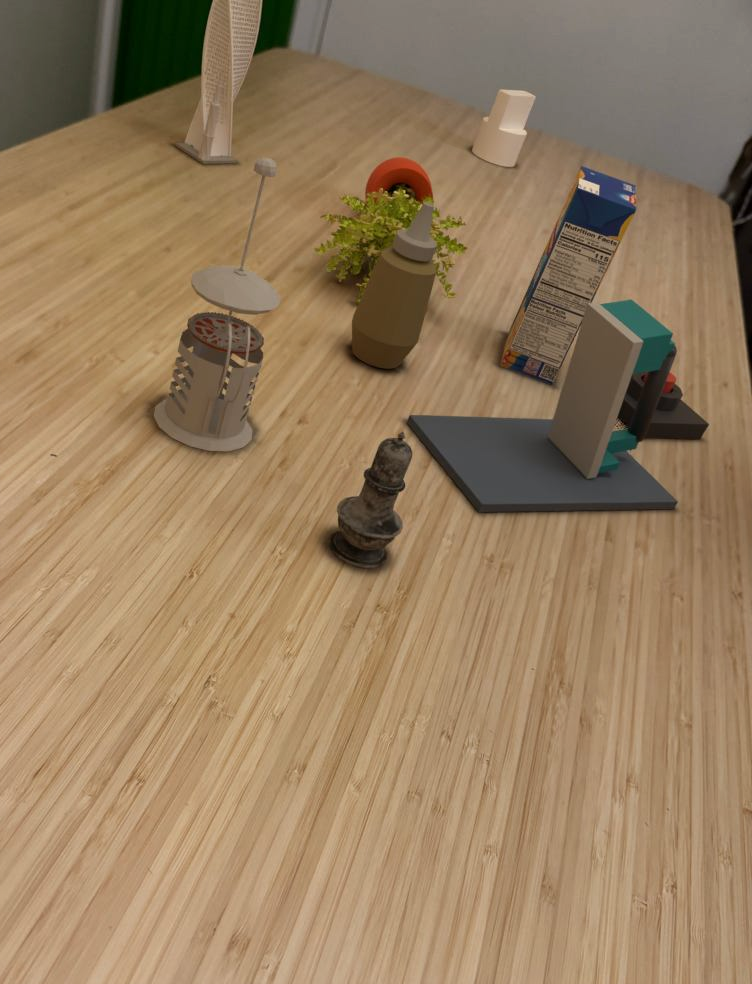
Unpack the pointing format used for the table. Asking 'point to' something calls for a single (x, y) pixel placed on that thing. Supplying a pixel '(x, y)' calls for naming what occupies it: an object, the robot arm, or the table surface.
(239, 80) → the skyscraper
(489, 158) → the cylinder with rectangular tab
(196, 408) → the french press
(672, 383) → the power button
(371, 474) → the salt shaker
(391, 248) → the squeeze bottle
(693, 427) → the button base
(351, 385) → the table surface
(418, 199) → the potted plant
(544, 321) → the beverage box
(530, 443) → the ironing mat
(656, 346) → the iron
